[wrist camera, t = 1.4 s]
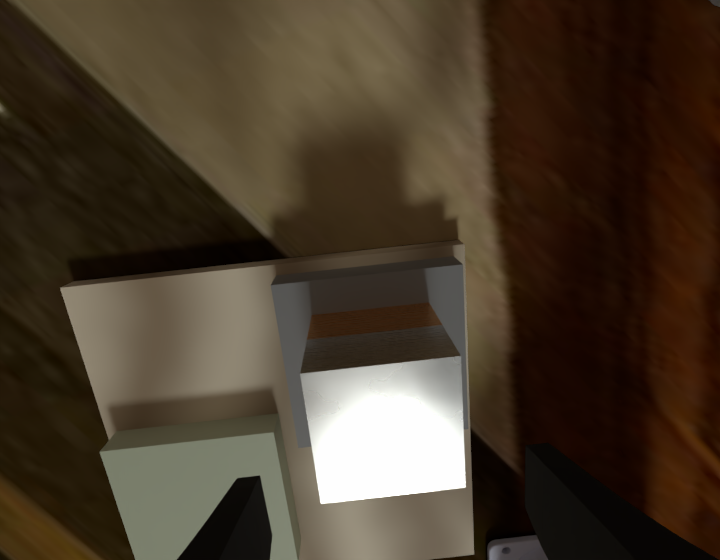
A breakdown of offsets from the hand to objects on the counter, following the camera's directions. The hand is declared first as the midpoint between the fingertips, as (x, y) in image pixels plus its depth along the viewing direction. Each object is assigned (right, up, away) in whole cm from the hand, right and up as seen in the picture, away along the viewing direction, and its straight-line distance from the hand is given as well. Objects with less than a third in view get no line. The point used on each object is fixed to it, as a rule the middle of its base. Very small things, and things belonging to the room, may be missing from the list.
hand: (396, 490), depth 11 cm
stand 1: (-9, -5, +11) cm, 15 cm away
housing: (0, +2, +7) cm, 8 cm away
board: (-4, -2, +11) cm, 12 cm away
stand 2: (0, +3, +10) cm, 10 cm away
